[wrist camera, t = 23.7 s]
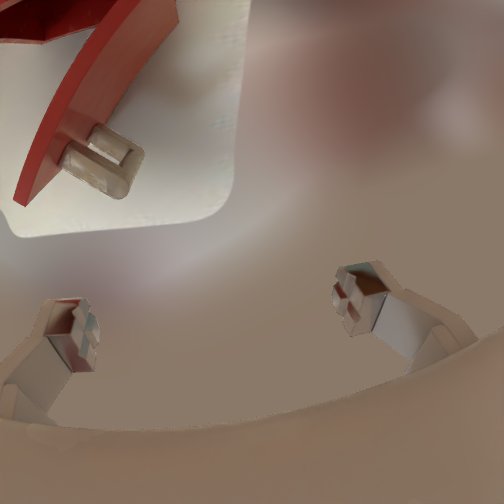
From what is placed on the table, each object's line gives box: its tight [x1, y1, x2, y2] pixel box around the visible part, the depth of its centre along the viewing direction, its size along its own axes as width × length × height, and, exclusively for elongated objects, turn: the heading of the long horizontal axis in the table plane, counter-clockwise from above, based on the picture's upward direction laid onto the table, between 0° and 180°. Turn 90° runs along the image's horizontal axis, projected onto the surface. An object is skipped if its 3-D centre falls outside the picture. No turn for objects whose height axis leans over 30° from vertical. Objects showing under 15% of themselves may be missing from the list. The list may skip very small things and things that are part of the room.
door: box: [13, 0, 179, 207], centre depth 18 cm, size 6×14×16 cm, turn 140°
